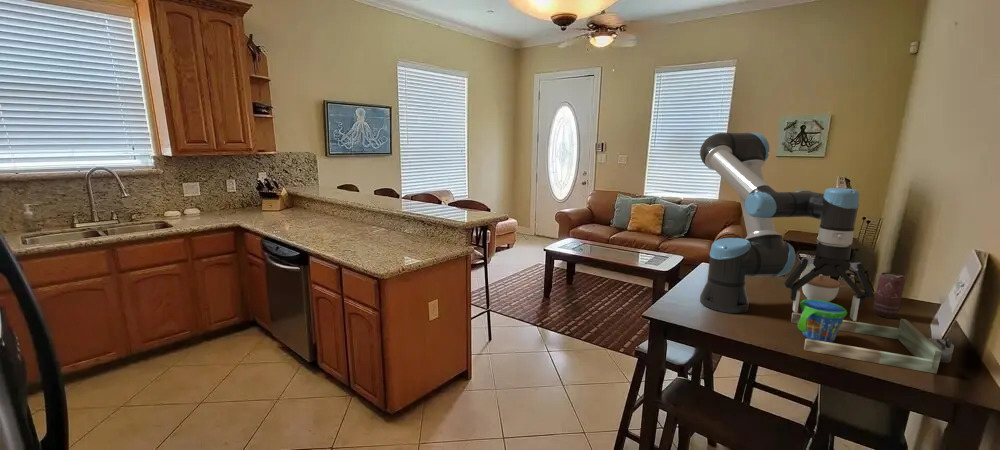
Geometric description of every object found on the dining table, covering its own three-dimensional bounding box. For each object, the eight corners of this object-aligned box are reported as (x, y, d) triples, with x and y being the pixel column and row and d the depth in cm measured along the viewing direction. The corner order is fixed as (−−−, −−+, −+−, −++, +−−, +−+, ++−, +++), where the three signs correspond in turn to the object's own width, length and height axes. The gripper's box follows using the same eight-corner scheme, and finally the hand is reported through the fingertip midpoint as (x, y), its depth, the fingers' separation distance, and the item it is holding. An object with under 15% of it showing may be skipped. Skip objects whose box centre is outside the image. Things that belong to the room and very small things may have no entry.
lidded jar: (841, 301, 148) (845, 276, 146) (829, 308, 142) (834, 282, 141) (806, 292, 157) (810, 269, 155) (794, 298, 151) (798, 274, 149)
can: (902, 319, 134) (911, 278, 131) (879, 318, 135) (888, 277, 132) (889, 312, 140) (897, 272, 137) (867, 310, 141) (875, 271, 138)
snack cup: (821, 327, 129) (827, 296, 126) (857, 343, 119) (863, 310, 116) (780, 332, 125) (785, 301, 123) (813, 350, 115) (819, 316, 113)
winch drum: (931, 362, 108) (937, 337, 107) (919, 351, 114) (925, 327, 113) (957, 367, 106) (963, 341, 105) (944, 355, 112) (950, 330, 110)
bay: (804, 350, 115) (808, 330, 114) (790, 321, 133) (793, 303, 132) (936, 373, 103) (941, 351, 102) (901, 338, 121) (906, 319, 120)
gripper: (783, 242, 118) (774, 312, 122) (898, 251, 107) (884, 328, 111) (779, 237, 124) (770, 303, 128) (886, 245, 114) (873, 317, 118)
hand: (823, 315), depth 120 cm, fingers open, 13 cm apart
